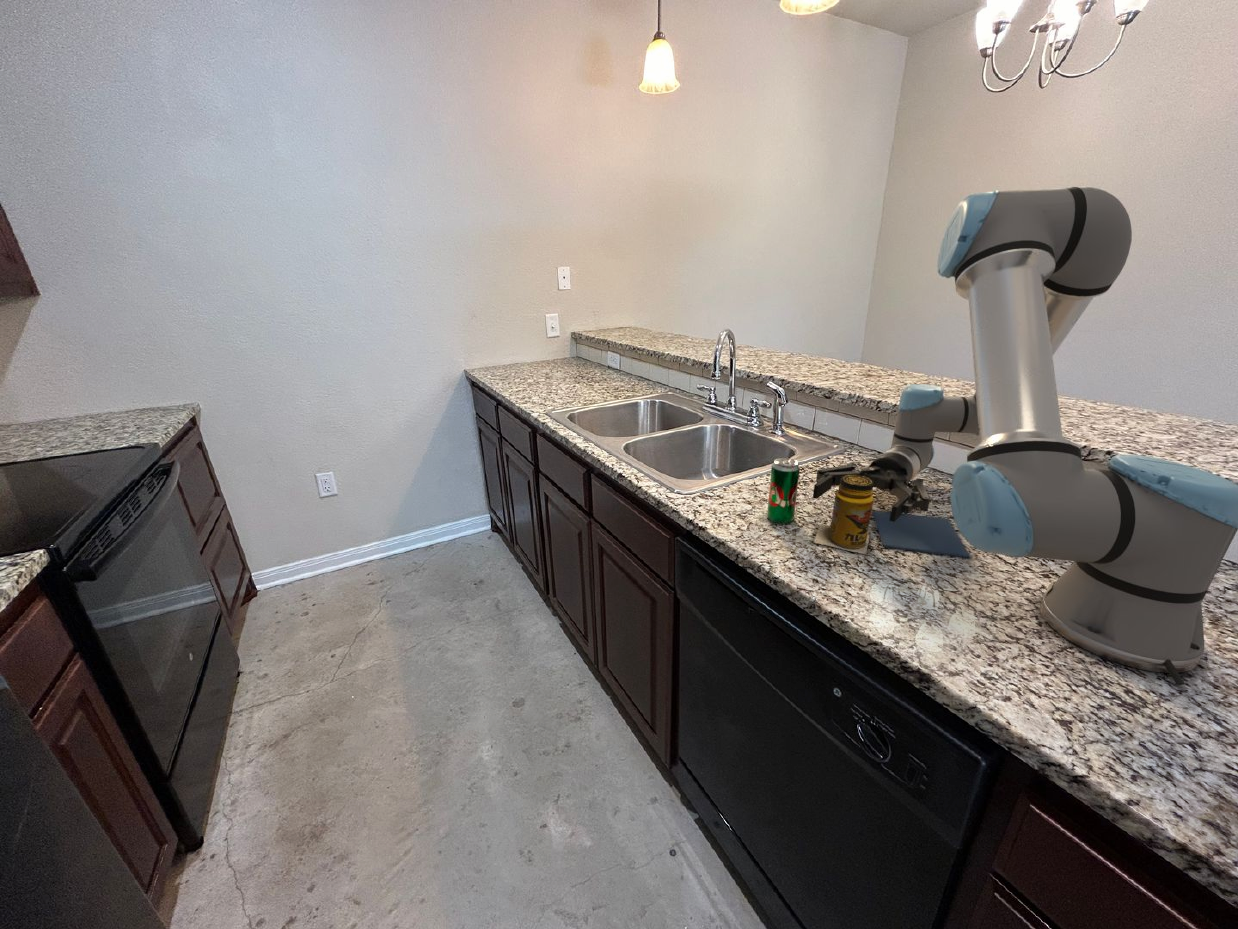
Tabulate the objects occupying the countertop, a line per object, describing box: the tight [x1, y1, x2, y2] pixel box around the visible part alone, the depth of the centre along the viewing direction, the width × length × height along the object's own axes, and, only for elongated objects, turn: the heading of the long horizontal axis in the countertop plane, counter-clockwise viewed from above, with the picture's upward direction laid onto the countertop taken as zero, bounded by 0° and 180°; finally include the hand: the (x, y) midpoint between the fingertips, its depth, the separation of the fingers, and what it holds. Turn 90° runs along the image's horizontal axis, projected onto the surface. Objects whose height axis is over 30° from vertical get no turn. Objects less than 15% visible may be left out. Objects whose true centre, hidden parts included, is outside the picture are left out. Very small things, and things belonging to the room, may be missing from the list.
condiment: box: [813, 475, 875, 555], centre depth 87 cm, size 7×8×12 cm
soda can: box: [766, 457, 801, 525], centre depth 95 cm, size 5×5×12 cm
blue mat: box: [872, 509, 971, 559], centre depth 91 cm, size 14×13×1 cm
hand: (852, 502), depth 89 cm, fingers open, 13 cm apart
